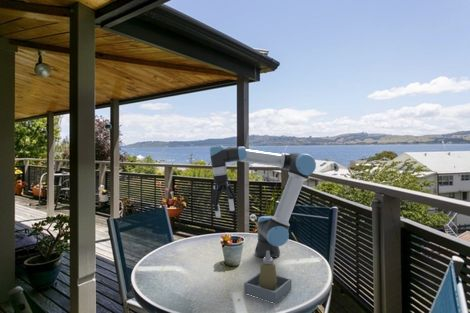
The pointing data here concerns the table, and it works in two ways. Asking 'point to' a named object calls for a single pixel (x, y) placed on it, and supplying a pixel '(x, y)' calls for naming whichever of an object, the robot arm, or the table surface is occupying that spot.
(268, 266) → the squeeze bottle
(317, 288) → the table surface
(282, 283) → the bin
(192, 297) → the table surface
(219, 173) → the robot arm
